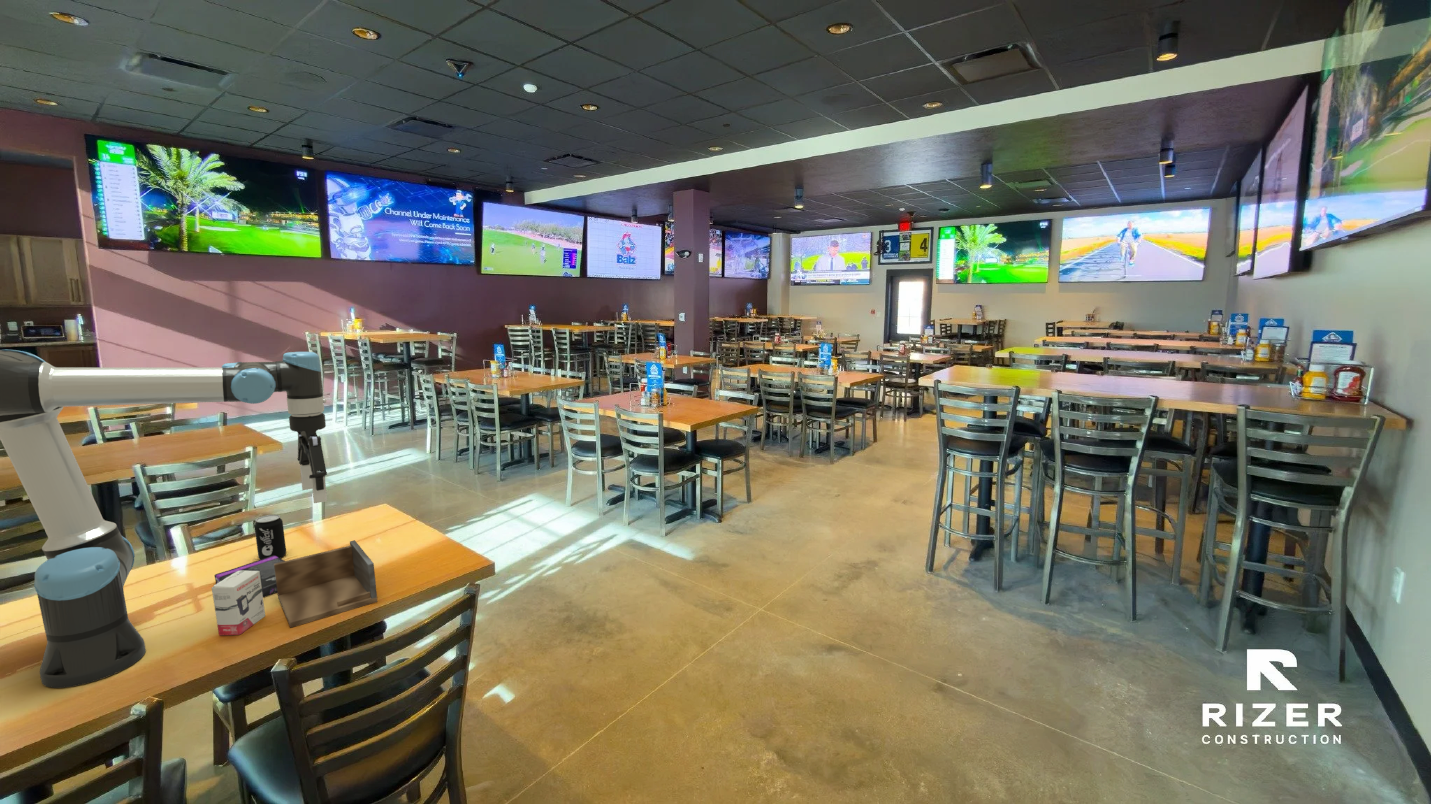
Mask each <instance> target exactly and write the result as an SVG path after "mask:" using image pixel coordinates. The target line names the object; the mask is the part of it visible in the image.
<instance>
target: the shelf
mask: <svg viewBox="0 0 1431 804" xmlns="http://www.w3.org/2000/svg"><path fill="white" fill-rule="evenodd" d="M274 569H275V577H276V585H277V593H276V594H277V599H278V601H279V603H280V606H281V608H282V610H283V612H284V615H285V618H286V620H287V622H288V625H289V627H290V628H295V627H299V626H301V625H304V624H307V623H312V622H314V621H318V620H321V619H325V618H327V617H331V616H334V615H339V614H340V613H344V612H347V611H348V612H349V611H350V610H351V611H352V610H354V609H357V608H360V607H366V606H368V605H371V604H375V603H377V602H378V593H377V584H376V582H377V581H376V574H375V573H376V572H375V565H374V562H373V560H371V558H370V557H369V555H367V553H366V552H365V551H364V549H363V548H362V547H361V546H360V544H359V543H358V541H356V540H349V545H347V546H343V547H339V548H335V549H331V550H326V551H322V552H321V551H320V552H318V553H314V554H309V555H305V556H300V557H297V558H292V559H288V560H284V561H283V562H279V563H275V564H274Z"/></svg>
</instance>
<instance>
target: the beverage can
mask: <svg viewBox="0 0 1431 804" xmlns="http://www.w3.org/2000/svg"><path fill="white" fill-rule="evenodd" d="M253 526H254V534H255V541H256V549H257V557H258V560H261V559H264V558H267V557H270V556H273V555H274V556H276V557H278V558H280V559H282V558H283V557H285V555H286V554H287V546H286V538H285V537H286V536H285V532H284V530H285V529H284V523H283V519H282V518H281V516H280V514H268V515H263V516H260V517H257V518H256V519H255V522H254V525H253Z"/></svg>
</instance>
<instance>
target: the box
mask: <svg viewBox="0 0 1431 804" xmlns="http://www.w3.org/2000/svg"><path fill="white" fill-rule="evenodd" d="M283 561H285V560H284V559H282V558H278V557H276V556H274V555H273V556H270V557H267V558H264V559H258V560H255V561H253V562H249V563H245V564H243V565H239V566H237V567H234V568H231V569H228V570H225V571H221V572H219V573H215V574H214V580H215V585H216V584H217V583H219V582H220V581H222V580H224V579H225V578H227V577H229V576H230V575H232V574H233V573H235V572H237V571H240V570H243V571H260V579H261V587H262V594H263V598H265V597H268V596H272V595H274V594H277V593H278V592H277V585H276V577H275V569H274V564H275V563H279V562H283Z"/></svg>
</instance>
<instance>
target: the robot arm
mask: <svg viewBox="0 0 1431 804" xmlns="http://www.w3.org/2000/svg"><path fill="white" fill-rule="evenodd" d="M322 377H323V376H322V367H321V360H320V356H319V355H318V354H317V353H316V352H313V351H293V352H292V351H290V352H289V351H288V352H285V353H284V354H283V355H282V360H277V361H249V362H248V361H246V362H242V361H237V362H230V363H229V362H228V363H224V364H222V365H221V367H57V366H54V365H52V364H50V363H49V362H47V361H45V360H44V359H42V358H41V357H39V356H37V355H35V354H33V353H31V352H27V351H23V350H22V351H21V350H16V349H0V442H1V444H2V446H3V448H4V451H5V452H6V454H7V456H8V459H9V460H10V462H11V464H12V466H13V468H14V471H15V472H16V474H17V477H18V479H19V481H20V482H21V485H22V487H23V489H24V490H25V493H26V495H27V496H28V499H29V501H30V502H31V505H32V507H33V509H34V511H35V513H36V515H37V518H38V519H39V522H40V524H41V526H42V528H43V530H44V531H45V533H46V536H47V540H46V541H45V542H44V544H43V545H42V547H41V550H42V552H43V553H44V555H45V558H46V559H47V560H45V561H44V562H43V563H41V564H40V565H39V566H38V567H37V568H36V569H35V572H34V583H33V584H34V585H33V587H34V589H35V592H36V594H37V598H38V599H37V600H38V604H39V609H40V613H41V614H40V615H41V618H42V624H43V628H44V634H45V638H46V646H45V649H44V654H43V658H42V661H41V665H40V669H39V675H40V680H41V684H42V685H43V686H45V687H46V688H47V687H48V688H54V689H59V688H61V689H62V688H63V689H64V688H70V687H71V688H72V687H76V686H82V685H86V684H89V683H90V684H91V683H93V682H96V681H100V680H102V679H106V678H108V677H110V676H113V675H115V674H117V673H119V672H120V673H121V672H122V671H124V670H125V669H128V668H130V667H131V666H133V665H134V664H136V663H137V662H139V660H141V659H142V658H143V657H144V655H145V653H146V651H147V648H146V643H145V640H144V638H143V637H142V636H141V634H140V633H139V631H138V630H137V628H135V626H134V625H133V623H132V622H131V620H130V619H129V616H128V615H129V614H128V609H127V604H126V598H125V592H124V587H125V586H124V585H125V583H126V582H127V581H126V580H127V579H128V576H129V574H130V573H131V571H132V569H133V566H134V563H135V551H134V547H133V545H132V543H131V542H130V541H129V540H128V539H127V538H126V537H124V536H123V535H122V534H121V532H120V530H119V528H118V525H117V523H115V522H113V521H108V520H105V519H104V518H103V516H102V514H101V511H100V509H99V507H98V504H97V502H96V500H95V498H94V495H93V494H92V491H91V490H90V488H89V487H90V486H89V485H88V482H87V481H86V478H85V477H84V475H83V471H82V470H81V468H80V465H79V463H78V461H77V459H76V457H75V455H74V453H73V450H72V447H71V446H70V443H69V442H68V440H67V437H66V435H65V432H64V431H63V427H62V426H61V424H60V422H59V419H58V416H59V415H60V413H61V412H62V411H63V409H64V408H65V407H94V406H95V407H97V406H124V405H125V406H126V405H157V404H158V405H160V404H161V405H162V404H190V403H191V404H192V403H223V402H224V403H233V402H234V403H238V402H239V403H240V402H241V403H246V404H252V405H254V404H260V403H263V402H265V401H267V400H268V399H270V398H271V397H272V396H273V394H274V393H282V392H285V393H286V402H287V405H286V406H287V414H289V417H288V423H289V429H290V431H292V432H297V461H298V464H300V465H299V467H300V469H299V470H300V471H299V472H300V478H301V490H302V491H305V490H306V491H307V490H312V498H313V504H320V503H324V502H327V501H328V496H327V486H326V476H327V475H328V472H327V468H326V463H325V458H324V451H323V447H322V437H321V436H320V435H319V436H318V433H317V431H319V430H323V429H325V428H326V426H327V424H326V423H327V422H326V415H325V413H324V411H325V403H327V400H326V399H325V398H324V392H323V391H324V389H323V378H322Z"/></svg>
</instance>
